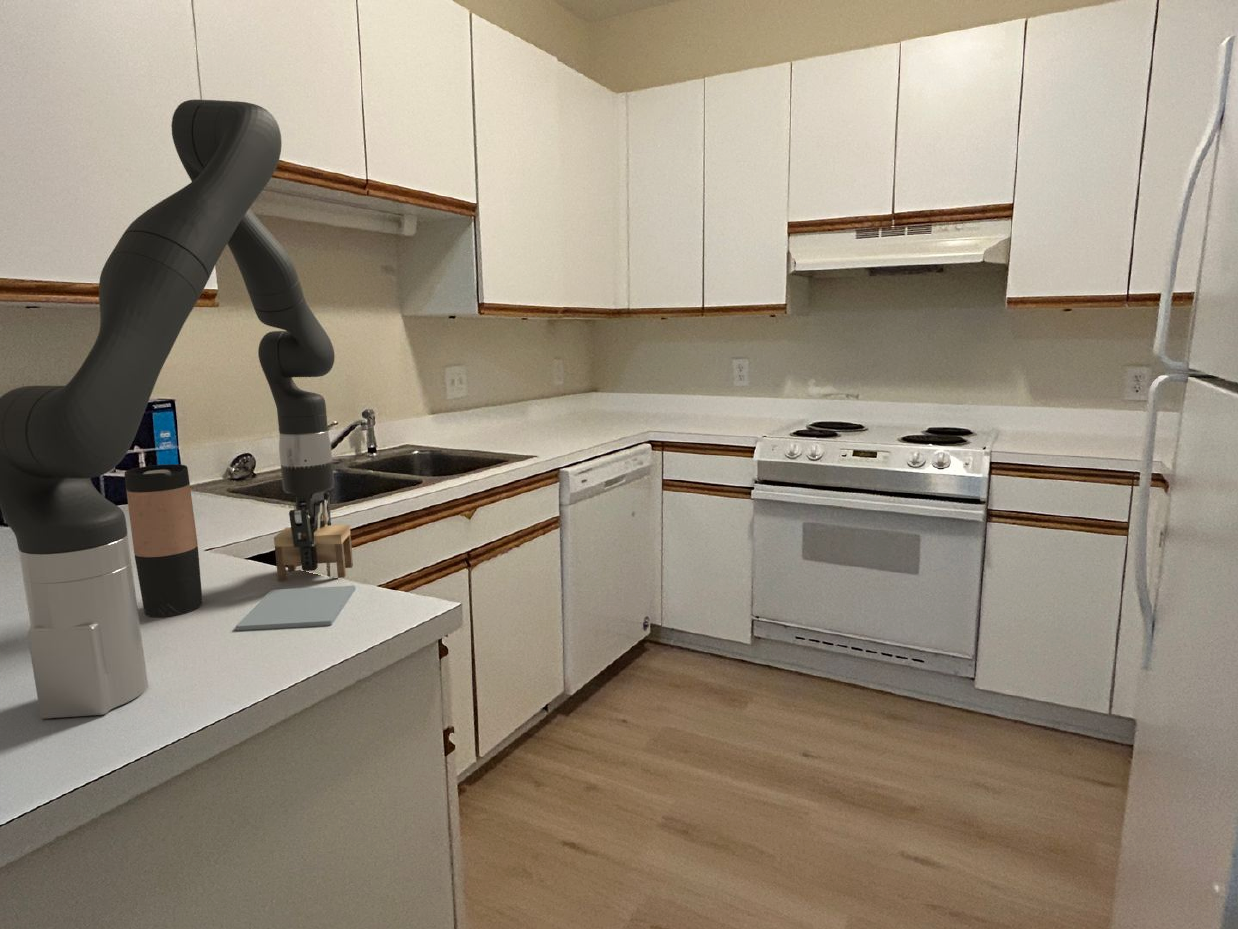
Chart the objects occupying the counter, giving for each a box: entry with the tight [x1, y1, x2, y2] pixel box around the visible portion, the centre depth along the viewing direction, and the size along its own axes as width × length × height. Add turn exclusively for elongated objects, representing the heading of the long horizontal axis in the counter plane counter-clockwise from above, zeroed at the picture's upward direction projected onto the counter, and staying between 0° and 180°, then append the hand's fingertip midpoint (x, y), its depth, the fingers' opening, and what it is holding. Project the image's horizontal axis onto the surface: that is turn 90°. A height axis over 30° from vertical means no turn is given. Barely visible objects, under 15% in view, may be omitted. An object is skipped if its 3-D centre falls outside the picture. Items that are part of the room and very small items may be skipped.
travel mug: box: [124, 463, 203, 618], centre depth 106 cm, size 8×8×20 cm
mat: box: [235, 585, 356, 632], centre depth 106 cm, size 14×12×1 cm
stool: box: [273, 524, 354, 582], centre depth 121 cm, size 10×6×7 cm, turn 97°
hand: (315, 563), depth 122 cm, fingers closed on stool, 6 cm apart
